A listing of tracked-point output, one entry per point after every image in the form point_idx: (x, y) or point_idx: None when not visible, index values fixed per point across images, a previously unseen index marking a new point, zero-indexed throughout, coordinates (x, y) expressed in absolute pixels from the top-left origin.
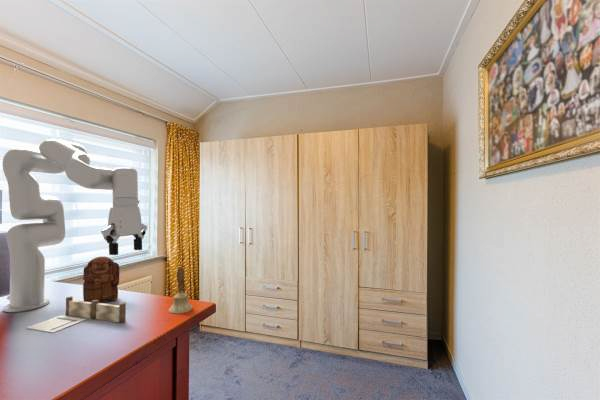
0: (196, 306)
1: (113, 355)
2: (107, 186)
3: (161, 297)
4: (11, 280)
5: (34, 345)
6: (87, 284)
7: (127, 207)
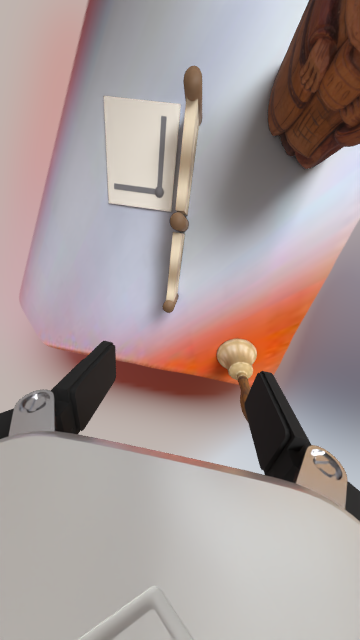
0: None
1: None
2: None
3: (315, 286)
4: None
5: (73, 219)
6: (307, 15)
7: None
